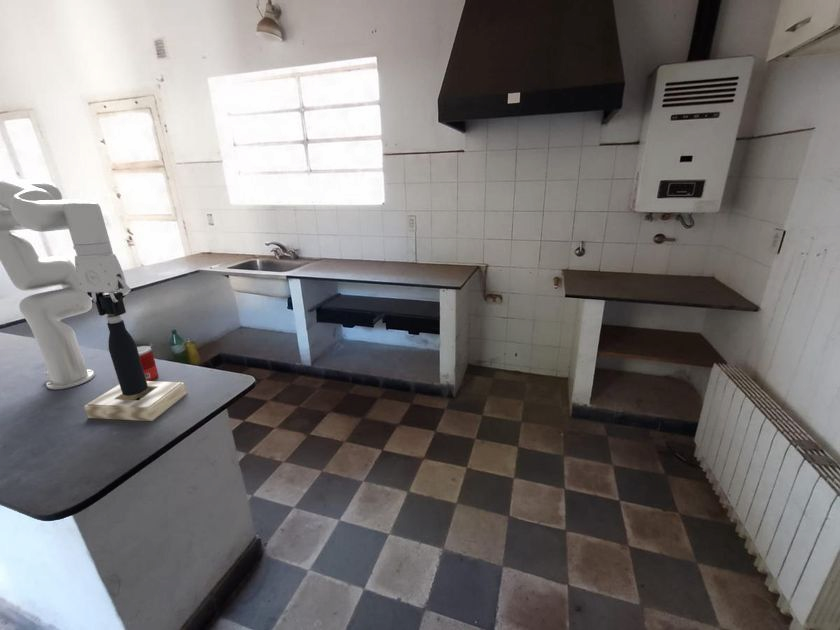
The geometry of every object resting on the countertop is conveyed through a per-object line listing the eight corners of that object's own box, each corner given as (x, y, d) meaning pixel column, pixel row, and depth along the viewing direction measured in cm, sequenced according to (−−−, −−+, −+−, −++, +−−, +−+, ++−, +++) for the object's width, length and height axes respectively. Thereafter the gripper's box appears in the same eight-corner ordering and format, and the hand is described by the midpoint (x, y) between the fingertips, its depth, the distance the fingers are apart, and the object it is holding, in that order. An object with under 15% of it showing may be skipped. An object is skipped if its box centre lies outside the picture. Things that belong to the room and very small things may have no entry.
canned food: (163, 374, 137) (156, 346, 133) (146, 385, 129) (138, 356, 126) (144, 373, 138) (136, 345, 134) (125, 384, 130) (116, 355, 126)
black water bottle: (126, 398, 112) (96, 300, 102) (119, 391, 116) (89, 296, 106) (151, 389, 117) (125, 295, 107) (143, 382, 121) (117, 291, 110)
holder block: (88, 417, 112) (83, 404, 110) (129, 391, 126) (126, 379, 124) (152, 421, 110) (148, 407, 109) (186, 393, 124) (183, 381, 123)
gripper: (51, 251, 99) (73, 318, 105) (111, 252, 98) (129, 319, 104) (78, 246, 106) (97, 309, 112) (134, 247, 105) (150, 310, 111)
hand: (112, 313), depth 108 cm, fingers closed on black water bottle, 3 cm apart
